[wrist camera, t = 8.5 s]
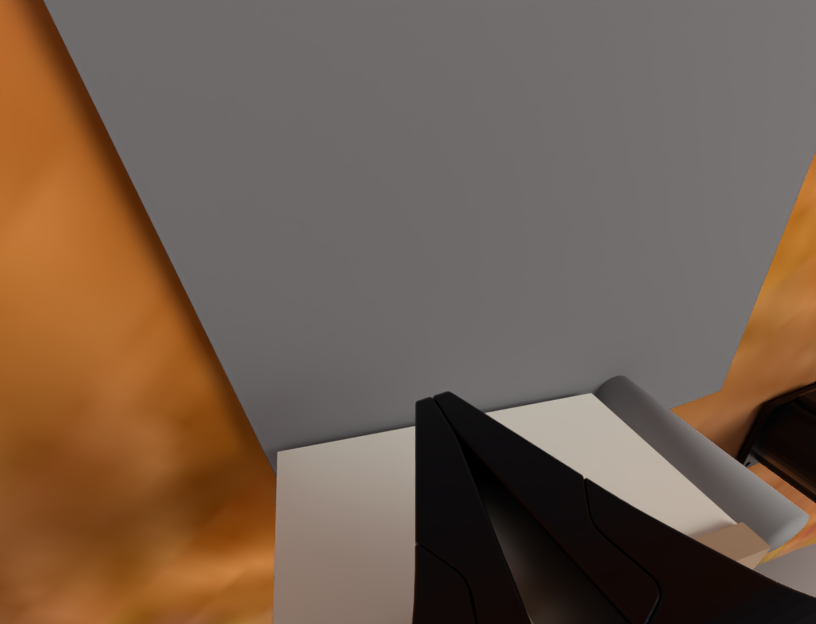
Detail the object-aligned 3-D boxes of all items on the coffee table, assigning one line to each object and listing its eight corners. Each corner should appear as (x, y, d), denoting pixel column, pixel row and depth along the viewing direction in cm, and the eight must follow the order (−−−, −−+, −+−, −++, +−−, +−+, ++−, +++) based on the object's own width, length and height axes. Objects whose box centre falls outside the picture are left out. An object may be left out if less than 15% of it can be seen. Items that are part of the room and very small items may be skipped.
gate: (592, 389, 17) (771, 547, 11) (583, 415, 18) (746, 577, 11) (276, 448, 13) (268, 743, 7) (281, 477, 14) (278, 770, 8)
